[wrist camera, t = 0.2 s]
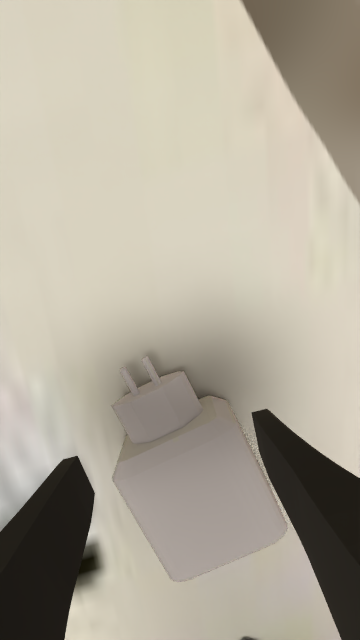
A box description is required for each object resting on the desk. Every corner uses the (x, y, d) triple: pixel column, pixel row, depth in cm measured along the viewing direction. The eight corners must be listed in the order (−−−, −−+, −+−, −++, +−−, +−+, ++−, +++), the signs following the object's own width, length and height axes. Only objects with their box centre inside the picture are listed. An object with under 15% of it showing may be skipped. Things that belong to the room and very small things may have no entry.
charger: (191, 327, 21) (269, 484, 23) (85, 378, 22) (171, 528, 24) (195, 341, 17) (292, 536, 19) (60, 406, 17) (169, 589, 19)
